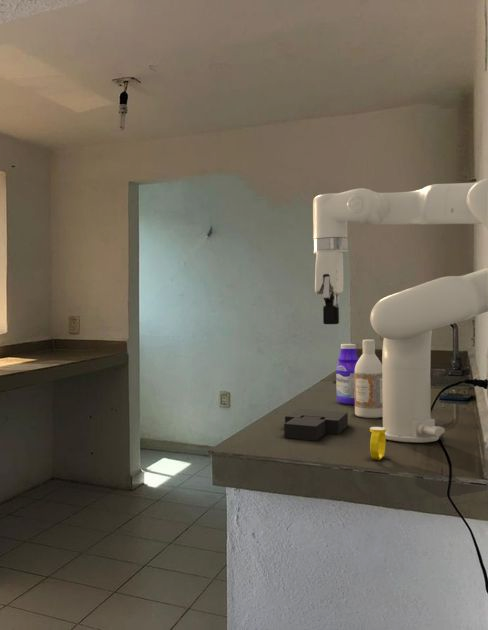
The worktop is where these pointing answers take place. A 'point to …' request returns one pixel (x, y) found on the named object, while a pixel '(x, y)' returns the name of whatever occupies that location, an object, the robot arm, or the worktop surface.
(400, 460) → the worktop surface
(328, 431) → the notch pad
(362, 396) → the bath foam
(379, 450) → the watch
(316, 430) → the tongue pad
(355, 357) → the bottle
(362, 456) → the worktop surface
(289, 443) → the worktop surface
